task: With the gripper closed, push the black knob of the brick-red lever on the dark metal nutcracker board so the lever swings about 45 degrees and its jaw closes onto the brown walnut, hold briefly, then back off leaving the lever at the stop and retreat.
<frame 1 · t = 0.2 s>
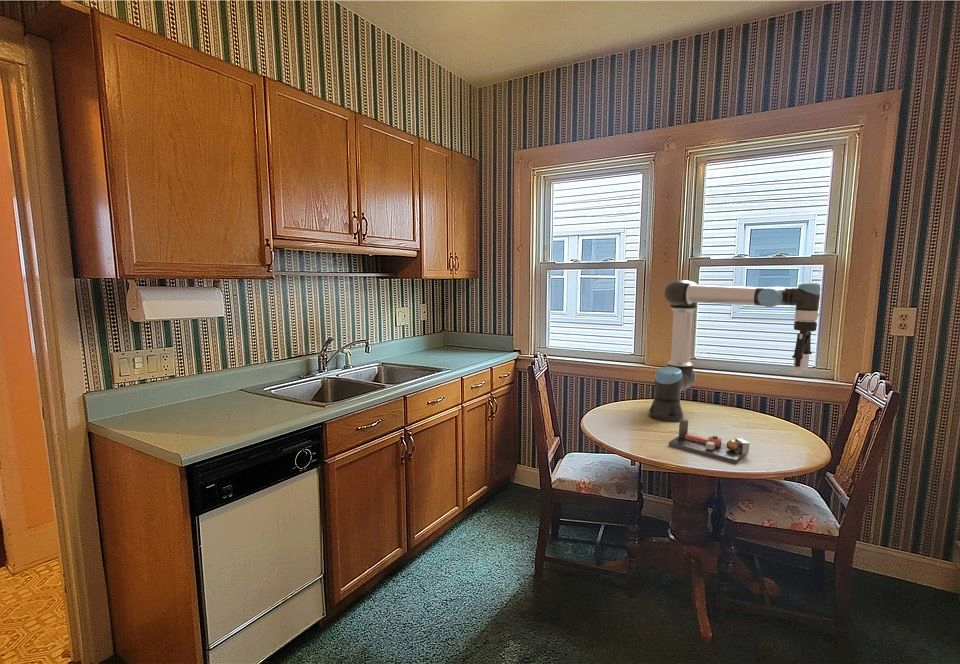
hand: (800, 371, 187), 28 cm above the table, fingers open, 13 cm apart
lever: (697, 433, 177), point 5 cm above the table, hinge at 0.0°
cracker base: (707, 449, 175), on the table
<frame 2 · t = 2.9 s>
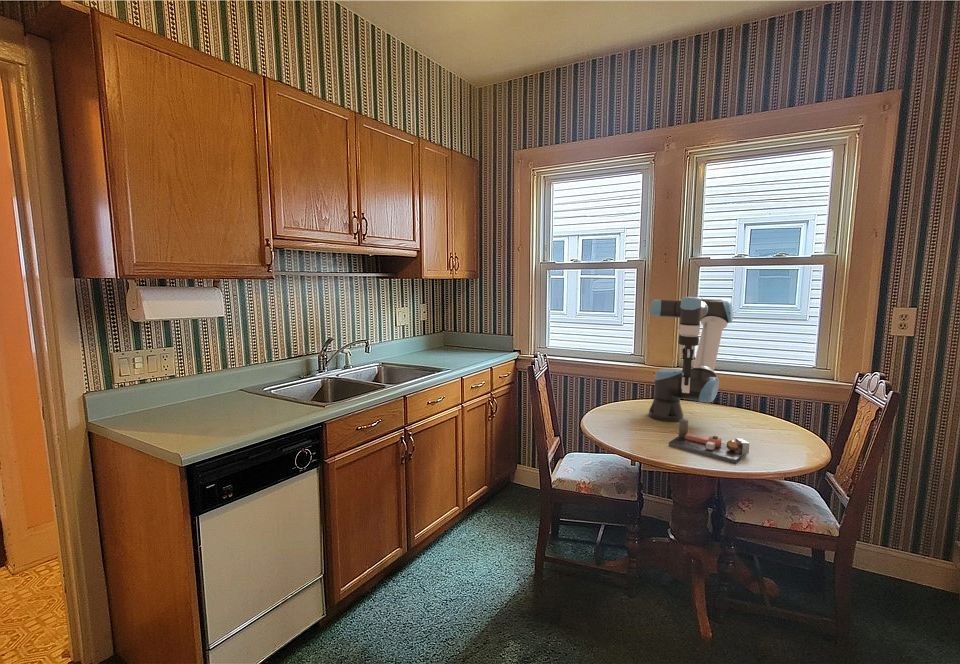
hand: (685, 390, 186), 20 cm above the table, fingers open, 6 cm apart
nothing on the table moved.
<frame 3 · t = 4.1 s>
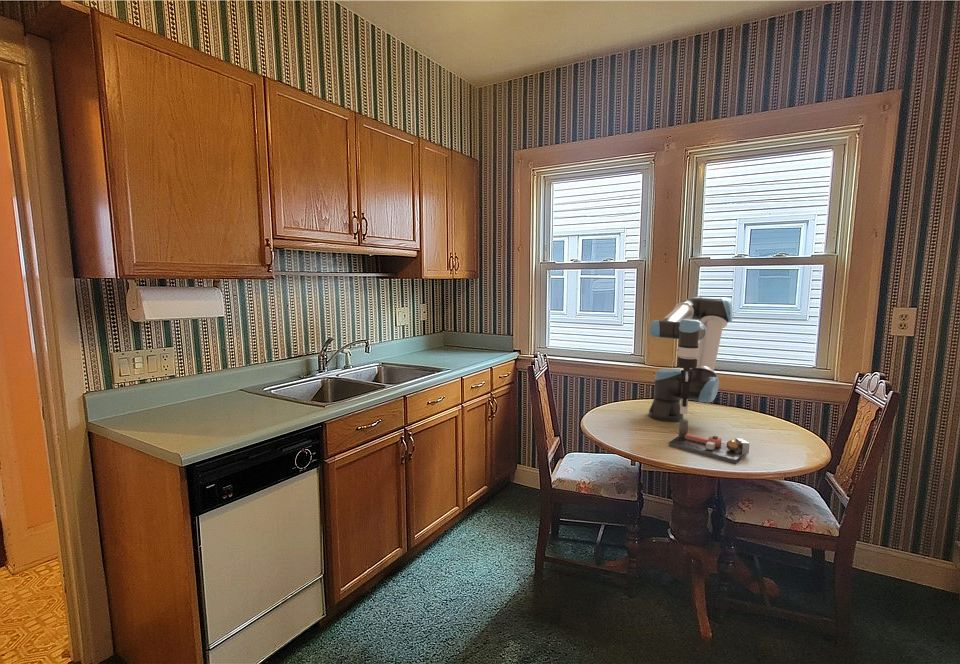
hand: (683, 413, 187), 10 cm above the table, fingers closed
nothing on the table moved.
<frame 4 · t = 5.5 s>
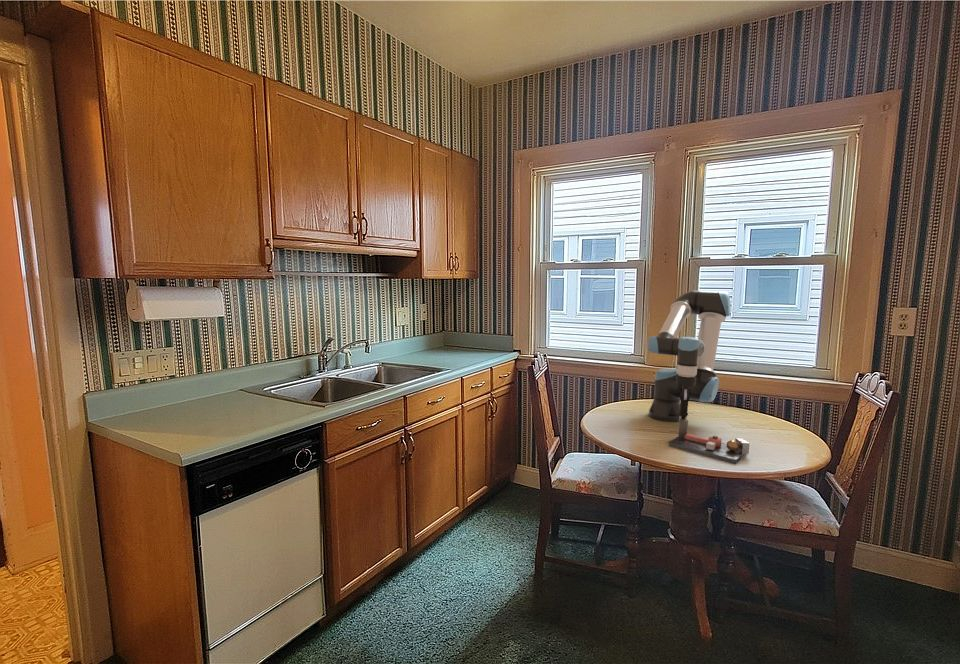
hand: (682, 430, 187), 3 cm above the table, fingers closed
lever: (697, 433, 177), point 5 cm above the table, hinge at 1.5°, touching gripper
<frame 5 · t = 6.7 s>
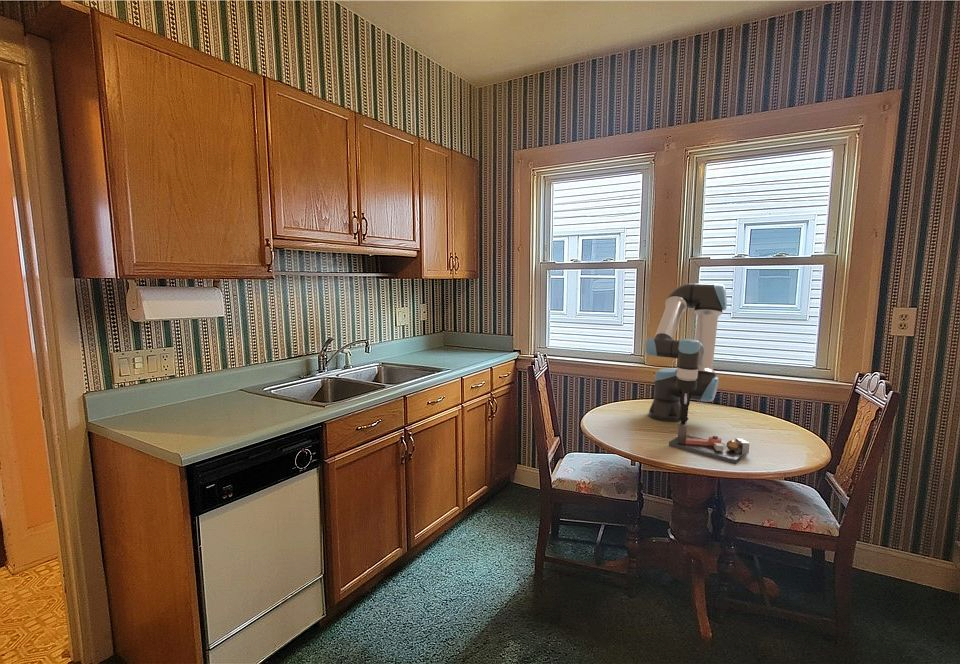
hand: (681, 435, 181), 3 cm above the table, fingers closed
lever: (700, 436, 174), point 5 cm above the table, hinge at 33.2°, touching gripper
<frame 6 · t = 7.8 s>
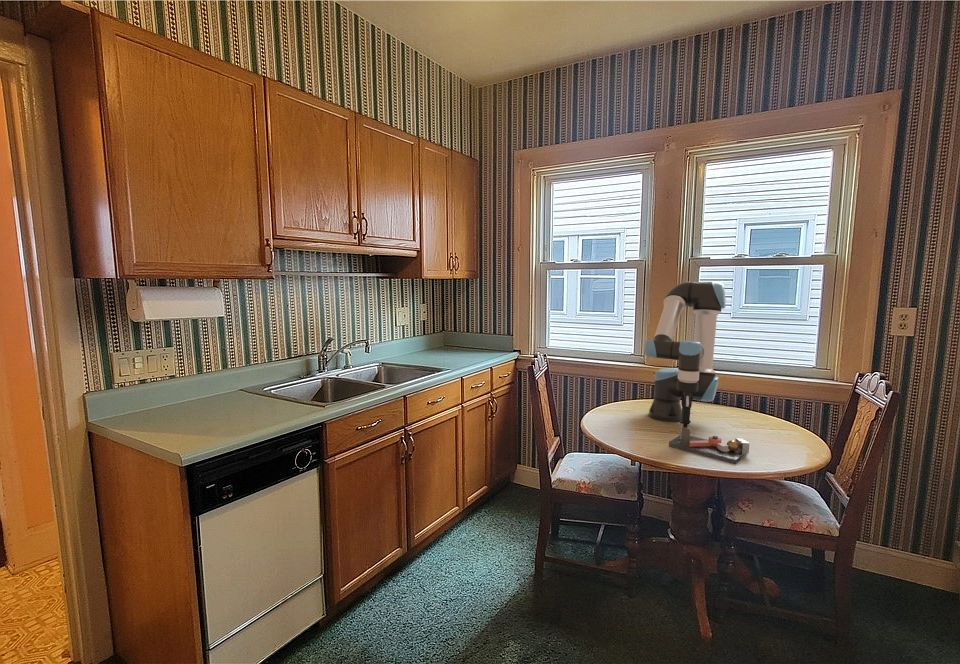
hand: (684, 438, 178), 3 cm above the table, fingers closed
lever: (704, 438, 172), point 5 cm above the table, hinge at 49.6°, touching gripper
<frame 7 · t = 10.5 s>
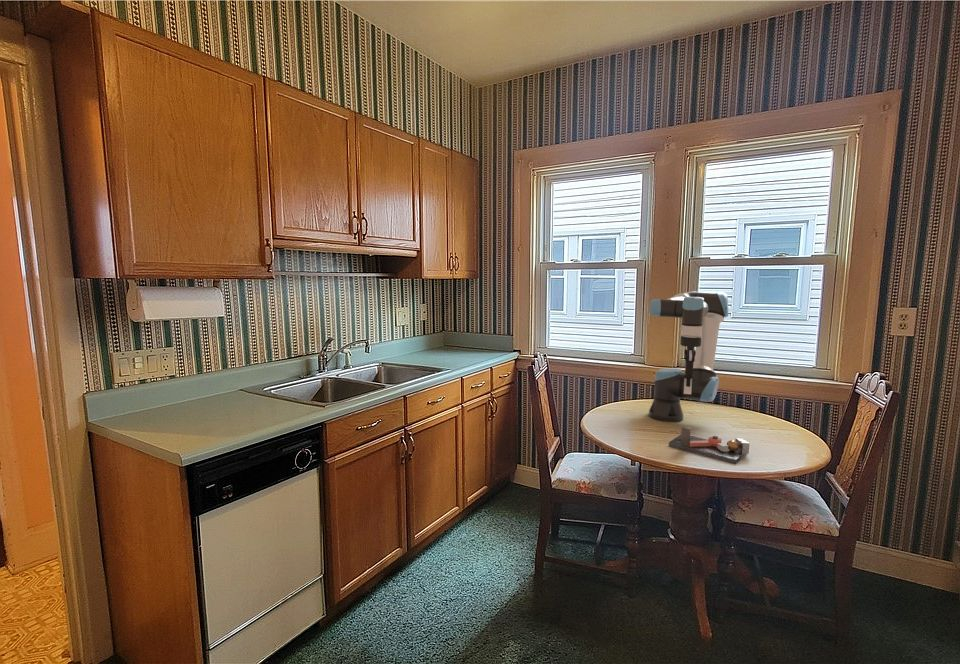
hand: (687, 393, 182), 20 cm above the table, fingers closed
lever: (704, 438, 172), point 5 cm above the table, hinge at 50.0°
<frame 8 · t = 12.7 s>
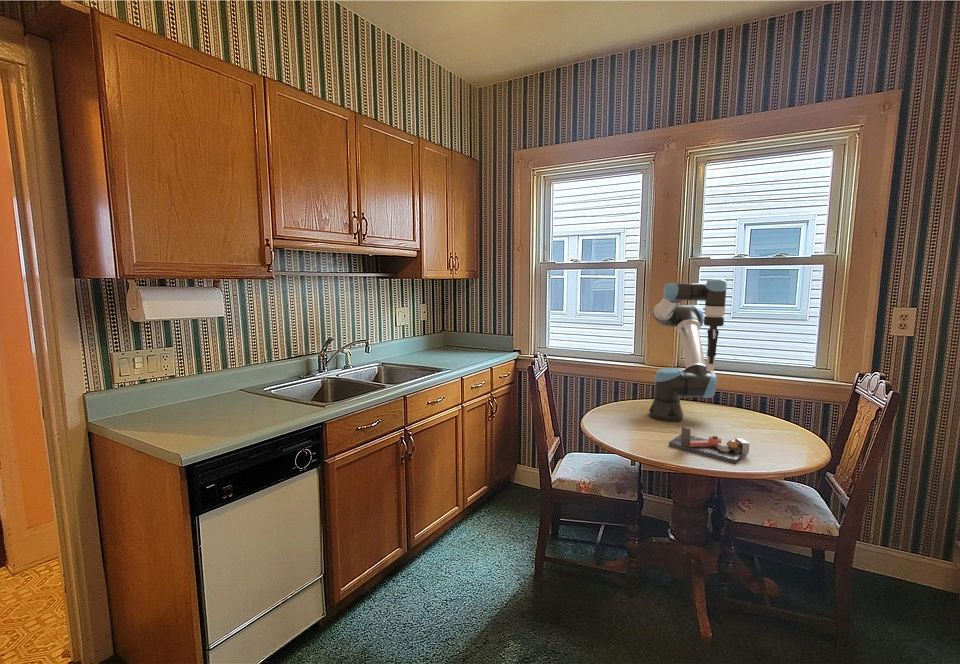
hand: (710, 370, 193), 26 cm above the table, fingers closed
nothing on the table moved.
at the end: lever at +50° (first picture: +0°) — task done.
